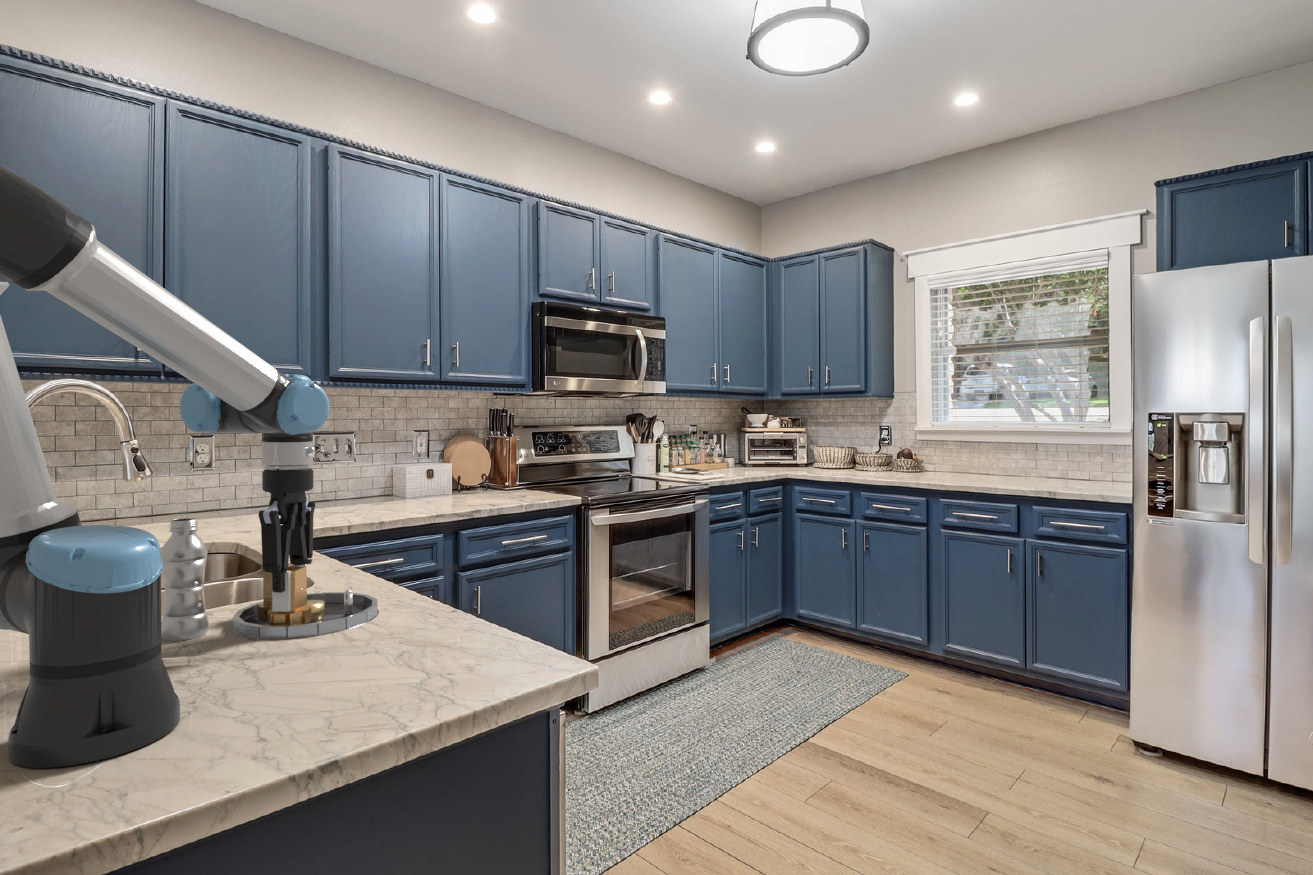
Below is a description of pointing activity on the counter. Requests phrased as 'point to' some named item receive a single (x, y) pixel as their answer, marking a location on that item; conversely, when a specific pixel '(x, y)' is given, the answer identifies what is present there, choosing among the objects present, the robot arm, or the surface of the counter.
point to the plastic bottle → (184, 583)
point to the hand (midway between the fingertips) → (289, 606)
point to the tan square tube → (266, 595)
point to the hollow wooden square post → (294, 601)
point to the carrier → (312, 617)
